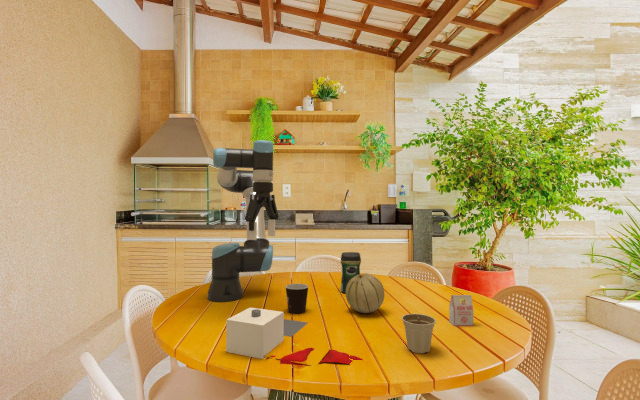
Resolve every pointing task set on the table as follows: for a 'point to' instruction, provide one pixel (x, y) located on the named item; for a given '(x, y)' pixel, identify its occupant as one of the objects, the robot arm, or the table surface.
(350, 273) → the coffee jar
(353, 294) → the cantaloupe
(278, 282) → the table surface
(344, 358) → the cloth
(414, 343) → the flower pot
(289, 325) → the mat
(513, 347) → the table surface
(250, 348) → the cover
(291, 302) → the coffee mug
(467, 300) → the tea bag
